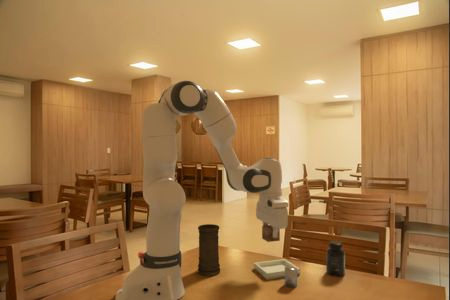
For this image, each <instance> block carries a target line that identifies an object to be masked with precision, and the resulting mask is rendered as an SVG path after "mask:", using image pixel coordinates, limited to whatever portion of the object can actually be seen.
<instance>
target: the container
mask: <svg viewBox="0 0 450 300" xmlns="http://www.w3.org/2000/svg"><path fill="white" fill-rule="evenodd" d="M197 229H198V264H197V274H198V275H202V276H204V277H205V276H206V277H211V276H217V275H219V274H220V272H221V267H220V266H221V265H220V257H219V230H220V226H219V225H217V224H211V223H208V224H201V225H199V226H198V227H197Z"/></svg>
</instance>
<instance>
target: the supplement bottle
mask: <svg viewBox="0 0 450 300" xmlns="http://www.w3.org/2000/svg"><path fill="white" fill-rule="evenodd" d="M325 263H326V264H325V265H326V266H325V267H326V270H325V271H326V273H327V274H328V275H329V276H331V277H343V276H344V275H345V274H346V265H345V264H346V253H345V250H344V249H343V243H342V242H341V241H338V240H330V241H329V242H328V248H327V249H326V262H325Z"/></svg>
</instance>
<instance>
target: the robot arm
mask: <svg viewBox="0 0 450 300" xmlns="http://www.w3.org/2000/svg"><path fill="white" fill-rule="evenodd" d="M190 114H193V115H195V116H196V117H197V118H198V120H200V122H201V124H202V126H203V128H204V130H205V132H206V134H207V135H208V137H209V138H210V140H211V143H212V145H213V146H214V149H215V151H216V154H217V155H218V158H219V159H220V162H221V164H222V166H223V168H224V170H225V174H226V175H225V176H226V182H227V184H228V186H229V187H230V188H231V189H232V190H234V191H237V192H238V191H239V192H244V193H245V192H246V193H250V194H255V193H256V194H257V193H258V201H257V202H256V207H255V216H256V219H257V220H259V221H262V226H266V225H271V226H273V232H272V237H273V238H277V233H278V231H279V229H280V230H282V229H286V228H287V227H288V225H289V212H288V211H289V210H288V207H289V201H288V199H286V198H285V197H284V196H283V190H282V184H283V183H282V182H283V172H282V171H283V170H282V165H281V162H280V161H279V160H278V159H277V158H272V157H261V158H260V159H259V160H258V161H257V162H255V163H254V164H253V165H252V164H251V165H250V166H246V165H243V163H241V162H240V161H239V159H238V156H237V154H236V152H235V149H234V148H233V145H232V143H233V139H234V138H235V136H236V135H237V131H238V126H237V122H236V120H235V118H234V116H233V114H232V112H231V111H230V109H229V107H228V105H227V104H226V102H225V101H224V99H223V98H222V96H221V95H220V94H219V92H217V91H216V90H214V89H207V90H205V89H203V88H202V87H200V86H199V85H198V84H197V83H195V82H194V81H191V80H182V81H178V82H177V83H174V84H171V85H169V87H168V88H167V89H165V90H164V91H163V92H162V94H161V96H160V98H159V100H158V102H154V103H150V104H148V105H147V106H146V107H144V110H143V113H142V123H141V137H142V153H143V154H142V155H143V170H142V171H143V173H142V195H143V199H144V201H145V202H146V204H148V211H149V212H148V217H147V218H148V219H147V226H146V230H145V231H146V233H145V235H146V236H145V237H146V238H145V241H146V242H145V244H146V249H145V252H143V251H139V252H138V253H137V256H138V258H139V265H138V266H136V267H135V268H134V269H133V270H131V271H130V272H128V274H126V276H125V277H124V280H123V284H122V288H120V289H118V290H117V292H116V293H115V299H114V300H180V299H181V298H182V297H183V296H184V295H185V293H186V291H185V287H184V283H183V278H182V260H183V259H182V251H181V247H180V244H181V243H180V242H181V241H180V239H181V237H180V236H181V235H180V233H181V222H182V216H183V210H184V206H185V204H186V201H187V200H186V198H187V197H186V193H185V190H184V188H183V187H182V185H181V184H180V183H178V182H177V181H175V174H176V165H177V160H178V153H177V152H178V150H177V149H178V147H177V133H176V124H177V123H176V122H177V119H178V117H185V116H188V115H190Z"/></svg>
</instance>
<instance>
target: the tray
mask: <svg viewBox="0 0 450 300" xmlns="http://www.w3.org/2000/svg"><path fill="white" fill-rule="evenodd" d="M287 266H293V267H296V268H297V276H300V275H301V268H299V266H297V265H295V264H294V263H292V262H290V261H288V259H285V258H282V259H281V258H280V259H275V260H273V259H272V260H266V261H265V260H264V261H259V262H258V261H257V262H253V269H254V270H255V271H256V272H257V273H258V274H260V275H261V276H262V277H263V278H265V280H267V281H268V280H270V281H271V280H275V279H281V278H282V279H283V278H285V267H287Z"/></svg>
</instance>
